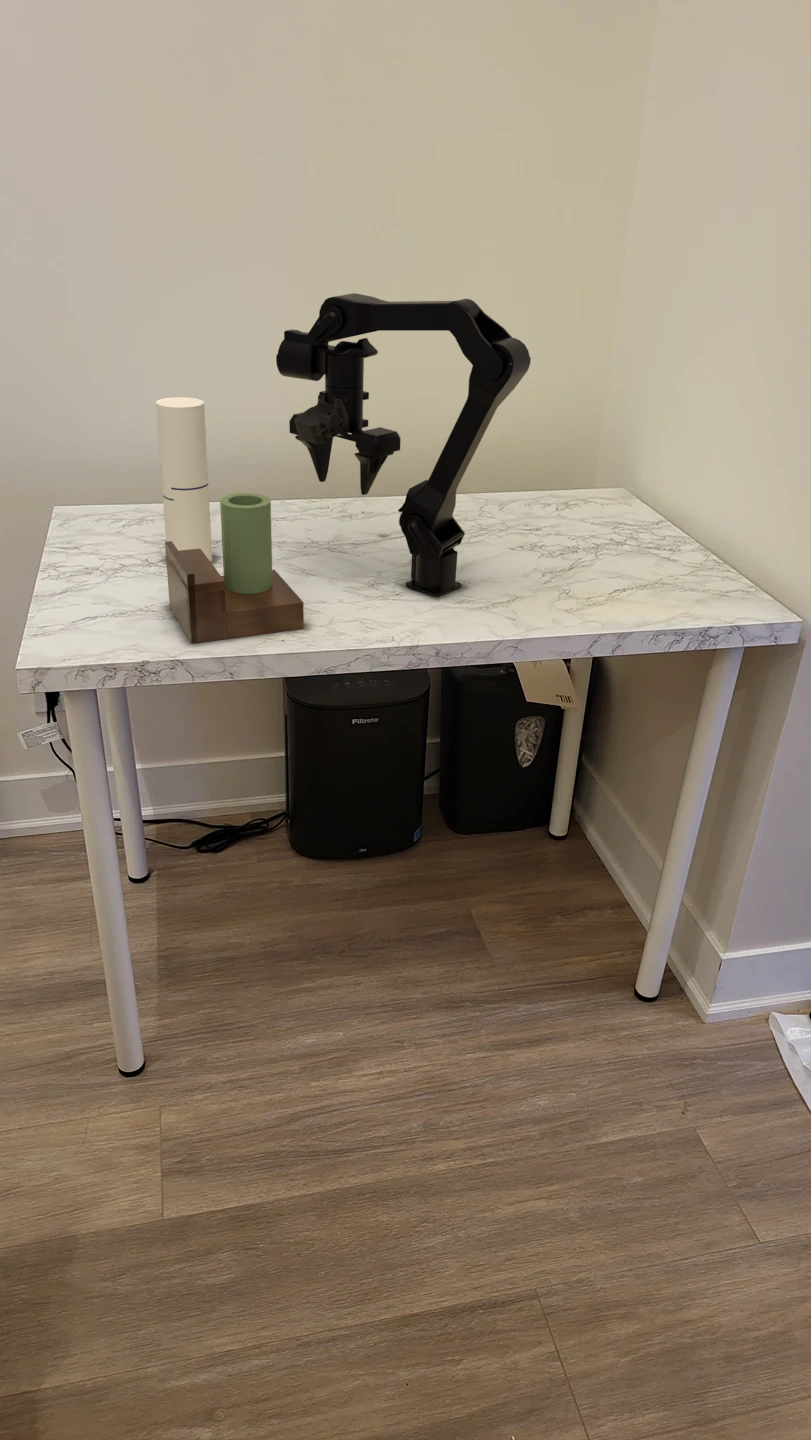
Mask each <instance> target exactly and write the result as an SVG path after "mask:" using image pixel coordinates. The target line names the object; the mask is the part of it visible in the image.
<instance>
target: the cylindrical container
mask: <svg viewBox="0 0 811 1440" xmlns="http://www.w3.org/2000/svg"><path fill="white" fill-rule="evenodd" d="M155 409H156V424H157V438H158V453H159V464H160V477H161V478H160V479H161V491H162V503H163V505H162V506H163V517H164V518H163V519H164V531H165V542H169V541H172V542H173V544H174V545H175V547H176V548H177V550H178V551H180V550H190V549H201V550H202V551H203V553H204V554H205V555H206V557H207V558H208V559H209V561H210V562H211V563H212V561H213V545H212V530H211V529H212V527H211V509H210V506H211V505H210V487H209V470H208V453H207V450H208V449H207V434H206V433H207V432H206V412H205V411H206V410H205V402H204V400H203V399H200V398H195V397H190V396H189V397H187V396H186V397H185V396H183V397H182V396H174V397H173V396H172V397H171V396H170V397H164V398H160V399H158V400H156V401H155Z"/></svg>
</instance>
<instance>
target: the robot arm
mask: <svg viewBox="0 0 811 1440" xmlns="http://www.w3.org/2000/svg"><path fill="white" fill-rule="evenodd" d="M318 312H319V313H318V317H317V319H316V320H315V322H314V323H313V325H312V326H311V328H310V330H309V331H308V332H305V331H302V330H299V329H294V328H292V329H287V330H284V331H283V340H282V341H281V342H280V344H279V347H278V351H277V354H276V356H275V361H276V362H275V363H276V368H277V371H278V373H279V374H280V375H281V376H283V377H286V378H287V377H288V378H293V379H300V380H307V381H313V382H319V381H320V380H321V379H322V378H323V377H324V376H325V377H324V390H321V391H319V393H318V395H317V403H316V404H315V405H313V406H311V407H309V408H307V409H306V410H305V411H303V412H298V413H293V415H292V416H291V418H290V419H289V420H288V421H289V423H288V424H289V425H288V426H289V434H292V435H295V440H297V441H299V442H301V443H302V445H304V447H306V448H307V451H308V453H309V456H310V458H311V462H312V464H313V466H314V470H315V473H316V476H317V478H318V481H319V482H320V483H324V482H326V480H327V477H328V472H329V466H330V460H331V454H332V447H333V442H334V438H335V437H336V438H340V439H343V440H346V441H349V442H354V443H355V448H356V450H357V451H358V452H355V453H354V456H355V457H356V459H357V461H358V462H359V474H360V475H359V483H360V494H361V495H362V496H366V495H368V494H369V492H370V490H371V488H372V486H373V484H374V482H375V480H376V478H377V476H378V474H379V472H380V470H381V469H382V467H383V465H384V463H385V462H386V460H387V459H388V457H389V456H392V455H394V454H395V452H399V451H401V436H400V434H399V433H398V431H397V430H392V429H388V428H384V427H381V426H379V427H375V428H370V429H365V430H363V428H369V419H367V418H364V401H366V400H369V399H370V392H369V391H365V390H364V379H365V378H364V377H365V376H364V375H365V372H364V371H365V359H368V358H370V357H374V356H377V355H378V353H379V351H378V350H377V348H376V347H375V346H374V345H373V344H372V343H371V342H370V341H369V339H368V337H364V338H360V339H358V340H357V342H354V341H347V340H343V339H347V338H352V337H357V336H361V335H366V334H370V333H375V332H380V331H381V332H382V331H387V332H388V331H389V332H390V331H391V332H393V331H394V332H397V331H398V332H400V331H401V332H402V331H403V332H404V331H405V332H409V331H411V332H412V331H413V332H415V331H417V332H419V331H420V332H421V331H423V332H424V331H429V332H430V331H432V332H433V331H439V332H440V331H441V332H442V331H445V332H446V331H448V332H450V334H451V335H452V336H453V337H454V339H455V341H456V343H457V345H458V347H459V348H460V351H461V353H462V354H463V356H464V357H465V358H466V359H467V360H468V362H469V363H470V364H471V365H472V367H471V370H470V373H469V377H468V391H467V393H468V394H467V397H466V400H465V402H464V404H463V407H462V408H461V411H460V412H459V415H458V417H457V419H456V422H455V423H454V426H453V428H452V430H451V432H450V433H449V436H448V438H447V440H446V442H445V444H444V447H443V449H442V451H441V453H440V455H439V456H438V458H437V461H436V463H435V465H434V467H433V470H432V471H431V473H430V476H429V478H428V479H424V480H423V481H421V482H419V483H417V484H415V485H413V486H411V487H410V488H409V489H408V491H407V493H406V496H405V499H404V502H403V503H402V506H401V507H400V508H399V509H398V510H397V512H399V513H400V516H399V519H398V526H399V527H400V529H401V532H402V534H403V535H404V537H405V541H406V543H407V546H408V548H407V549H408V551H409V554H410V555H411V563H410V565H411V567H410V579H411V580H408V581H407V582H405V587H408V588H410V589H412V590H416V591H418V592H421V593H423V594H427V595H429V596H432V597H436V598H437V597H440V596H443V595H445V594H447V593H450V592H452V591H454V590H457V589H460V588H462V585H463V584H462V582H459V581H457V568H458V567H457V566H458V551H457V550H455V547H457V546H459V545H461V544H462V541H463V539H464V537H465V534H466V533H465V531H464V529H463V528H462V527H461V526H460V524H459V523H458V522H457V520H456V519H455V518H454V516H453V514H454V511H455V508H456V504H457V503H456V502H457V490H458V487H459V485H460V483H461V481H462V479H463V477H464V475H465V473H466V472H467V469H468V467H469V465H470V463H471V461H472V459H473V457H474V455H475V453H476V451H477V449H478V447H479V445H480V444H481V441H482V439H483V437H484V435H485V433H486V431H487V429H488V428H489V425H490V424H491V421H492V419H493V417H494V416H495V413H496V412H497V410H498V408H499V407H500V405H501V404H502V403H503V402H504V401H505V400H506V399H507V398H508V396H509V395H510V394H511V393H512V392H513V391H514V390H515V388H516V387H517V386H518V384H519V383H520V382H521V381H522V379H523V378H524V377H525V375H526V374H527V372H528V371H529V368H530V366H531V359H532V357H531V356H530V352H529V349H528V347H527V346H526V344H525V343H524V342H522V341H521V340H520V339H518V338H516V337H512V335H511V334H510V333H509V331H507V329H506V328H504V327H503V326H502V325H501V324H499V323H498V322H497V321H496V320H494V319H493V318H492V317H491V316H490V315H488V314H487V313H485V311H484V310H483V309H482V308H481V307H480V306H479V305H478V304H477V303H476V301H474V300H472V299H470V298H463V299H457V300H413V301H412V300H411V301H410V300H409V301H406V300H404V301H403V300H402V301H400V300H399V301H388V300H383V299H380V298H378V297H375V296H372V295H366V294H362V293H361V294H360V293H357V292H356V293H354V292H353V293H347V294H341V295H335V296H331V297H327V298H325V299H324V300H323V302H322V304H321V305H320V308H319V310H318ZM339 340H340V341H339ZM335 341H339V342H337V344H336V345H331V344H329V343H331V342H335Z"/></svg>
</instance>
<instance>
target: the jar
mask: <svg viewBox="0 0 811 1440" xmlns="http://www.w3.org/2000/svg"><path fill="white" fill-rule="evenodd" d="M271 502H272V500H271V498H269V496H267V495H263V494H260V493H259V494H258V493H253V492H239V493H232V494H227V495H225V496H223V497H221V498H220V500H219V506H220V525H221V526H220V527H221V529H220V530H221V547H222V548H221V549H222V567H223V568H222V569H223V570H222V571H223V576H224V581H225V587H226V589H228V590H229V591H232V592H235V593H241V594H254V593H260V592H264V591H267V590H269V589H270V588H271V587H272V580H273V577H272V570H273V540H272V505H271V504H272V503H271Z"/></svg>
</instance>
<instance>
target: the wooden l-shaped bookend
mask: <svg viewBox="0 0 811 1440" xmlns="http://www.w3.org/2000/svg"><path fill="white" fill-rule="evenodd" d="M164 547H165V548H164V550H165V561H166V573H167V574H166V575H167V589H168V599H169V601H168V602H169V609H170V610H171V612H172V613H173V615H174V617H175V618H176V620H177V621H178V623H179V625H180V627H181V628H182V630H183V632H184V633H185V635H186V637H187V638H188V640H189V642H190V643H191V644H200V643H206V642H214V641H221V640H227V639H237V638H243V637H250V636H256V635H264V634H272V633H279V632H285V631H286V632H287V631H293V630H301V629H302V630H303V629H304V625H305V624H304V623H305V622H304V621H305V620H304V616H305V615H304V614H305V613H304V601H303V599H301V597H300V596H299V595H298V594H297V593H296V592H295V591H294V589H292V587H291V586H290V585H289V584H288V583H287V582H286V581H285V580H284V578H283V577H282V576H281V575H280V574H279V573H278V572H277V571H276V569H272V577H273V580H272V587H271V588H270V589H269V590H267V591H264V592H260V593H254V594H241V593H235V592H232V591H229V590H228V589H226V587H225V581H224V575H221V573H219V571H218V570H217V568H216V567H215V566H214V565H213V563H212V561H211V562H210V561H209V559H208V558H207V557H206V555H205V554H204V553H203V551H202V550H201V549H190V550H180V551H178V550H177V548H176V547H175V545H174V544H173V542H172V541H169V542H166V541H165V542H164Z"/></svg>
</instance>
